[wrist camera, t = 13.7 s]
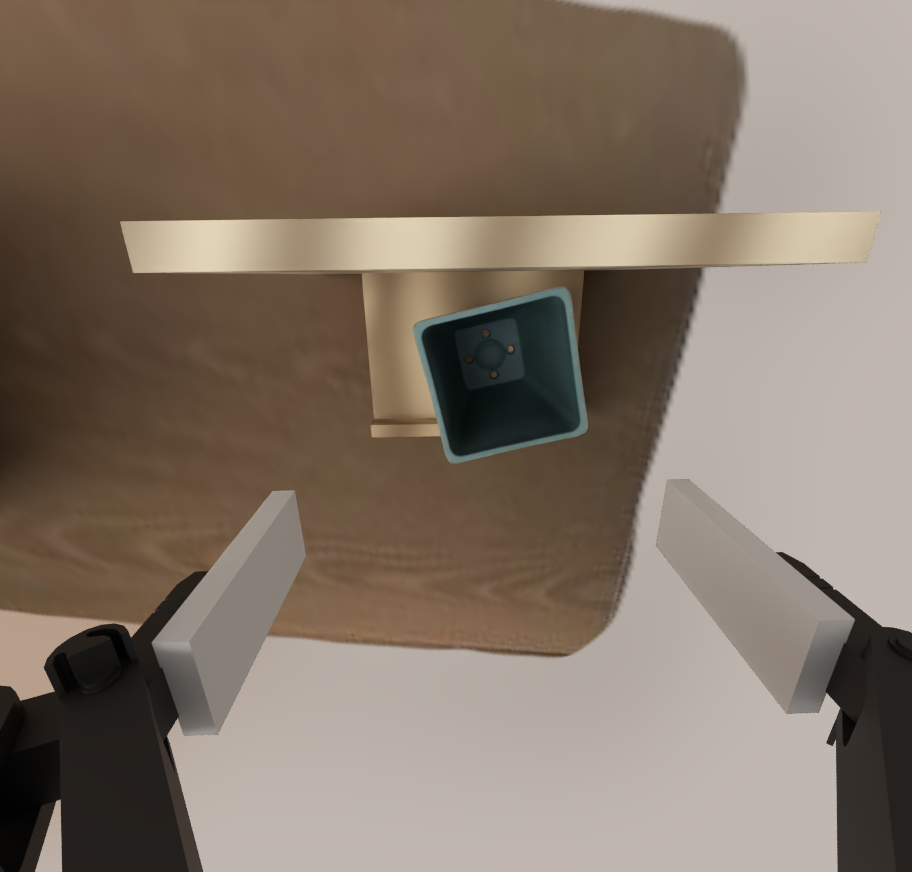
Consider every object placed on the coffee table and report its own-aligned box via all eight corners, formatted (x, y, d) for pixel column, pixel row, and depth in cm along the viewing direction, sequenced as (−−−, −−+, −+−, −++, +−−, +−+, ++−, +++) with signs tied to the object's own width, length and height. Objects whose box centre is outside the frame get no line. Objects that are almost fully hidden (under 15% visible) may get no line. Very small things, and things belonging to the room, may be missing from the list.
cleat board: (337, 416, 39) (211, 577, 18) (318, 253, 34) (119, 221, 13) (603, 411, 39) (776, 564, 18) (621, 249, 34) (881, 211, 14)
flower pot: (555, 395, 34) (590, 434, 26) (448, 420, 35) (448, 466, 26) (537, 281, 31) (570, 283, 23) (419, 310, 32) (409, 323, 23)
